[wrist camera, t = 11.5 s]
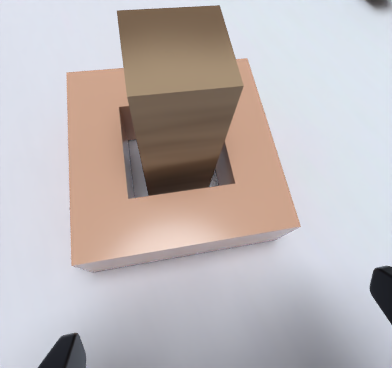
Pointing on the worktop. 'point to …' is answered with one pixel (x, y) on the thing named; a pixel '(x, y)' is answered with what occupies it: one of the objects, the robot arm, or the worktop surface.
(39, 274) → the worktop surface
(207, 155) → the peg
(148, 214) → the socket
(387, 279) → the robot arm
